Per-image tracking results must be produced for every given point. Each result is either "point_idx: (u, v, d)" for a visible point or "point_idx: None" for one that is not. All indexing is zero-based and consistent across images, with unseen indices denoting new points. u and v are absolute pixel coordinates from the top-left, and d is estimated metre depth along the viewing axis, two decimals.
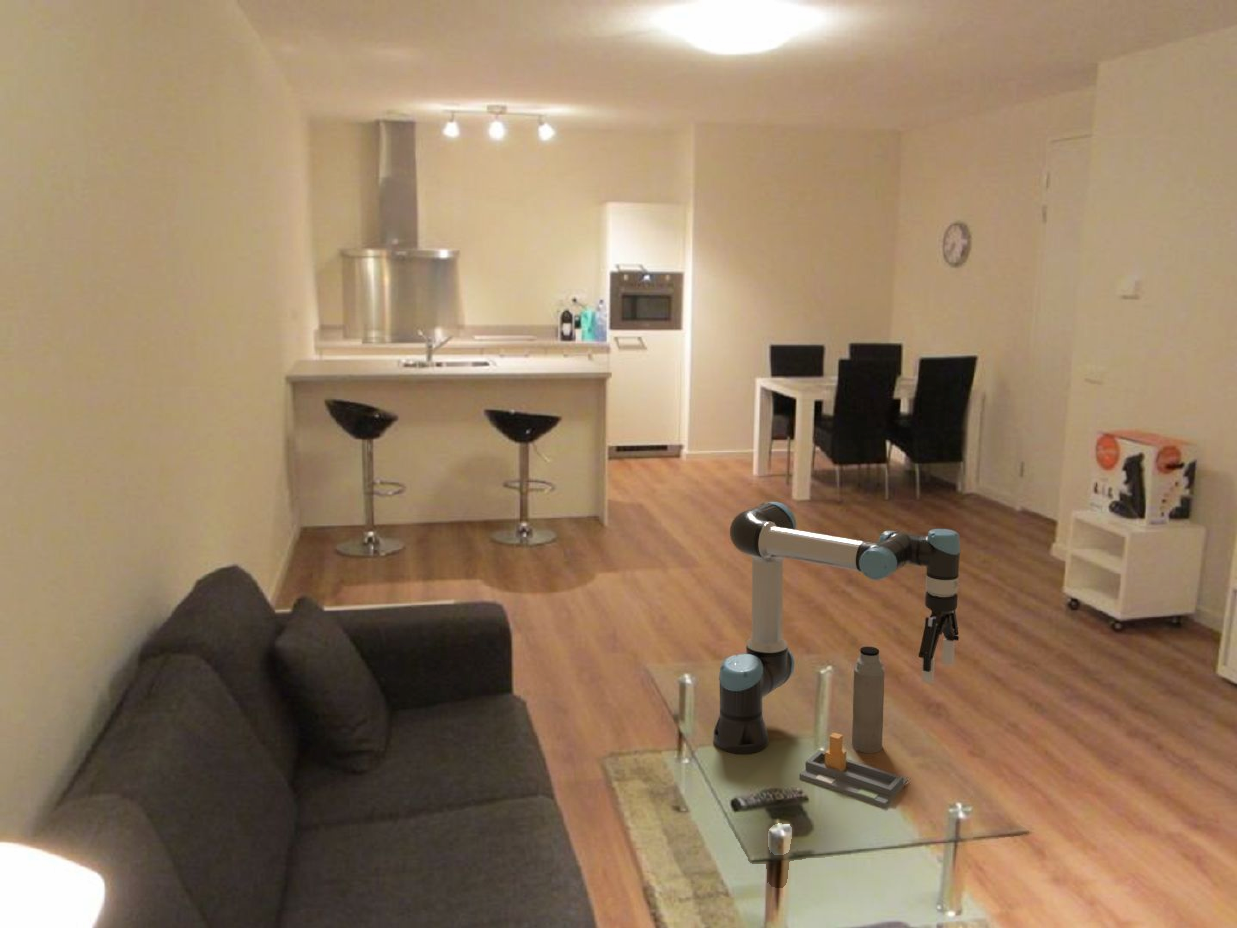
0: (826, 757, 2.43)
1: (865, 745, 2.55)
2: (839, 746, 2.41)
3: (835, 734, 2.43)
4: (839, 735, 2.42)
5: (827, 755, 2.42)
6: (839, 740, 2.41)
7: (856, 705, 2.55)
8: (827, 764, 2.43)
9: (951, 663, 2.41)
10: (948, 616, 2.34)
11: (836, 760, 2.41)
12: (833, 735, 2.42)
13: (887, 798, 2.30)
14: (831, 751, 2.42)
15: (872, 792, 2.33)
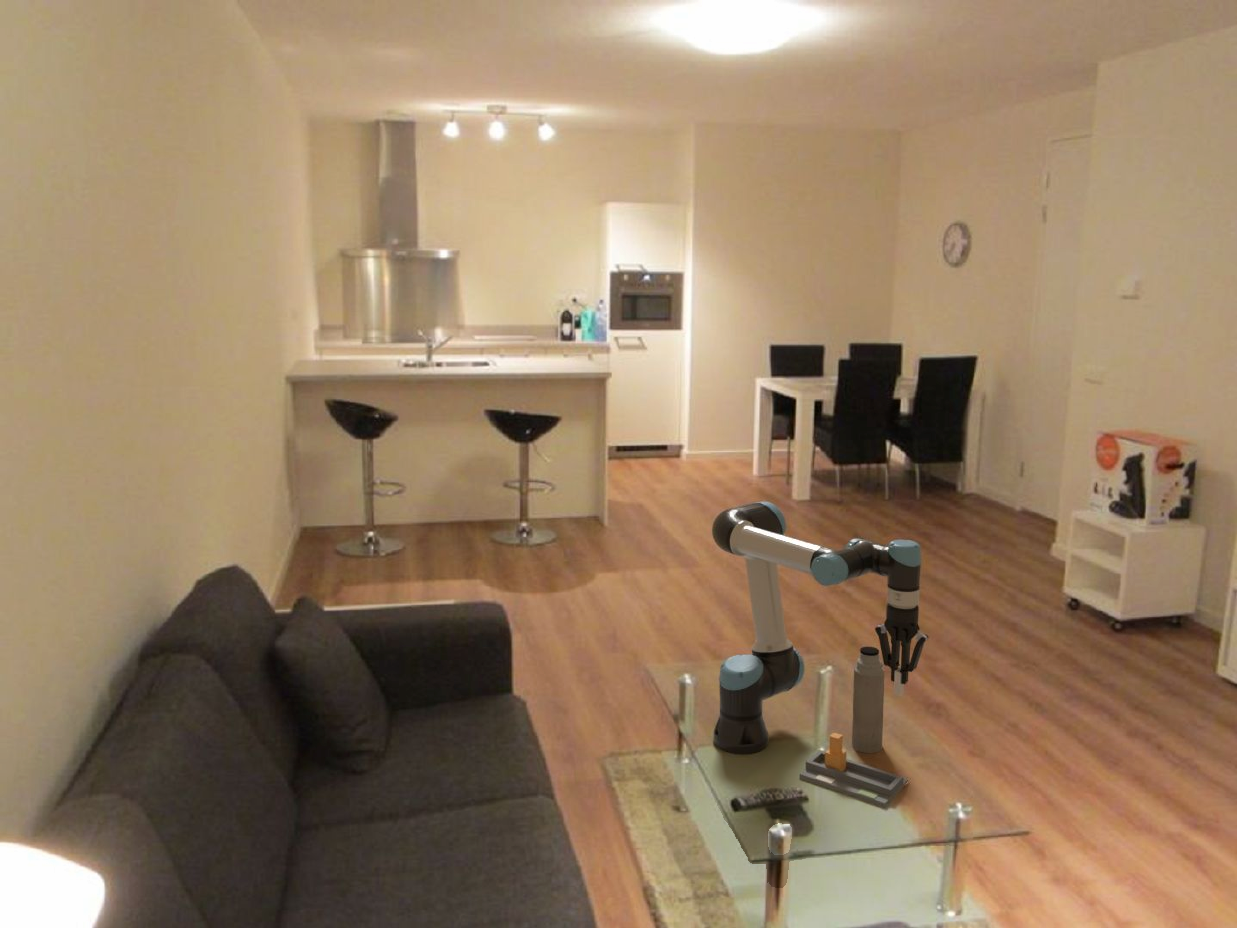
0: (826, 757, 2.43)
1: (865, 745, 2.55)
2: (839, 746, 2.41)
3: (835, 734, 2.43)
4: (839, 735, 2.42)
5: (827, 755, 2.42)
6: (839, 740, 2.41)
7: (856, 705, 2.55)
8: (827, 764, 2.43)
9: None
10: (903, 629, 2.29)
11: (836, 760, 2.41)
12: (833, 735, 2.42)
13: (887, 798, 2.30)
14: (831, 751, 2.42)
15: (872, 792, 2.33)
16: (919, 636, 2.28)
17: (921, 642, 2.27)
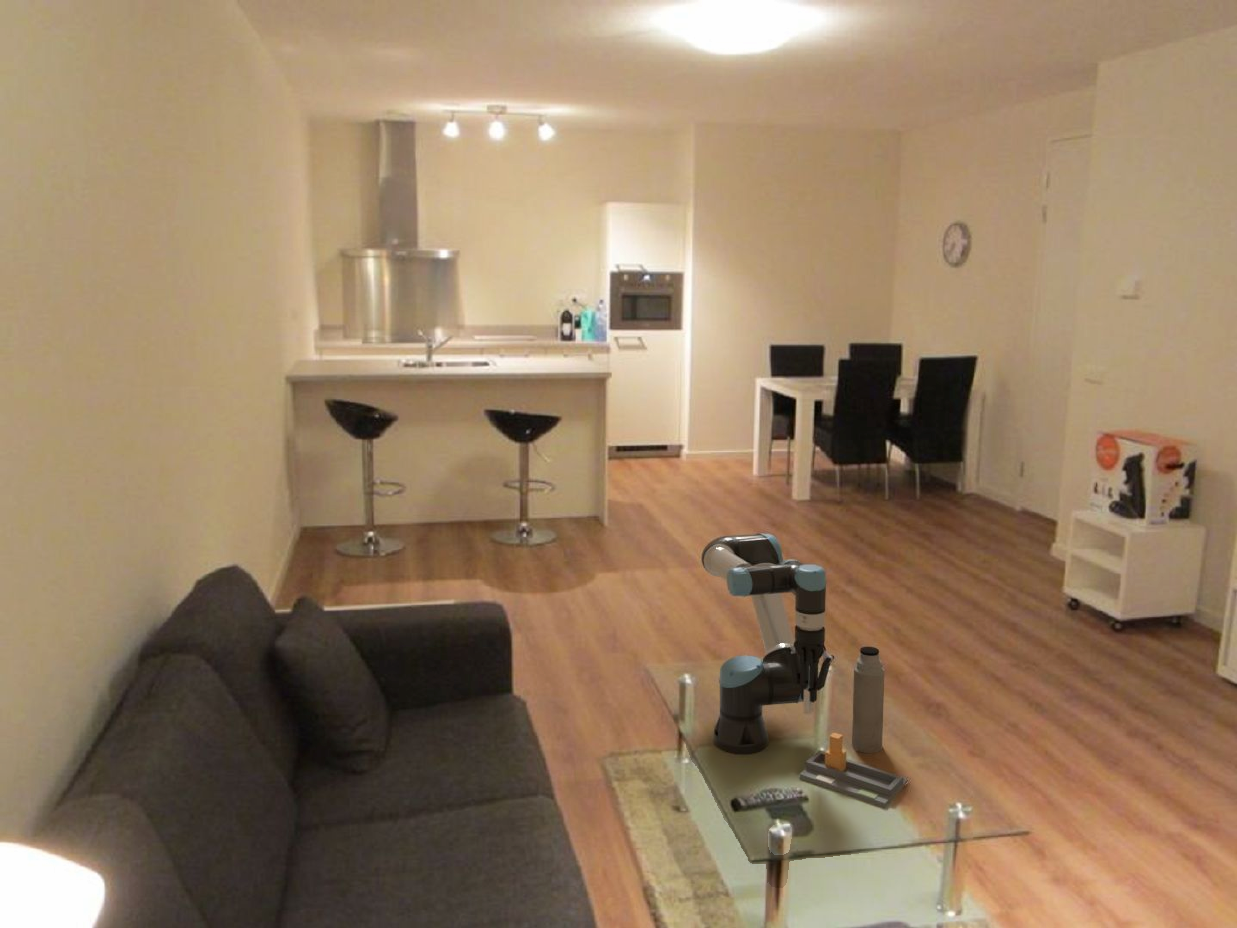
0: (826, 757, 2.43)
1: (865, 745, 2.55)
2: (839, 746, 2.41)
3: (835, 734, 2.43)
4: (839, 735, 2.42)
5: (827, 755, 2.42)
6: (839, 740, 2.41)
7: (856, 705, 2.55)
8: (827, 764, 2.43)
9: None
10: (810, 650, 2.41)
11: (836, 760, 2.41)
12: (833, 735, 2.42)
13: (887, 798, 2.30)
14: (831, 751, 2.42)
15: (872, 792, 2.33)
16: (825, 656, 2.40)
17: (827, 662, 2.39)
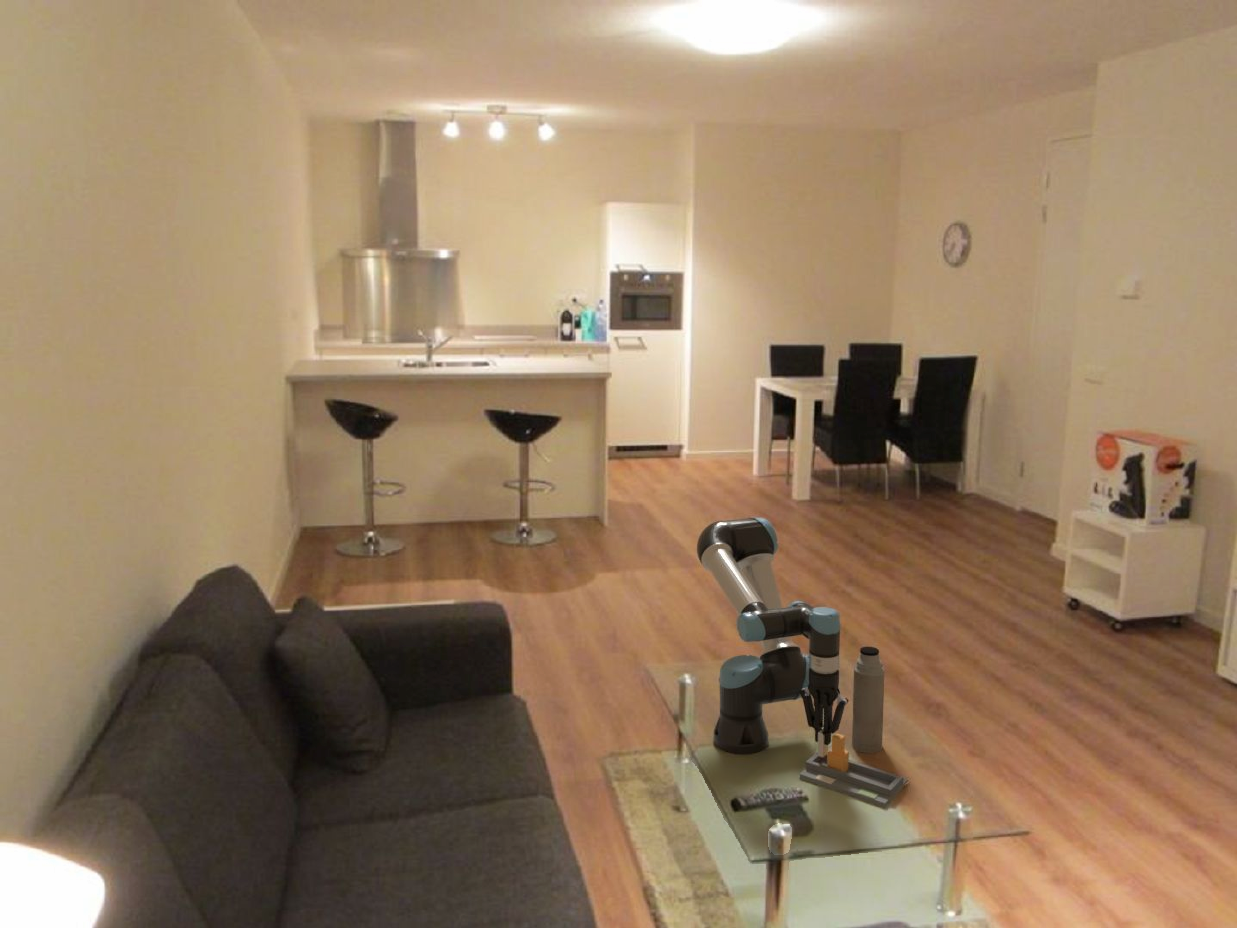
0: (828, 758, 2.42)
1: (865, 745, 2.55)
2: (841, 747, 2.41)
3: (837, 735, 2.42)
4: (841, 736, 2.42)
5: (829, 756, 2.42)
6: (841, 741, 2.41)
7: (856, 705, 2.55)
8: (829, 765, 2.42)
9: None
10: (824, 693, 2.40)
11: (839, 760, 2.40)
12: (835, 736, 2.42)
13: (887, 798, 2.30)
14: (834, 752, 2.42)
15: (872, 792, 2.33)
16: (839, 700, 2.39)
17: (841, 705, 2.38)
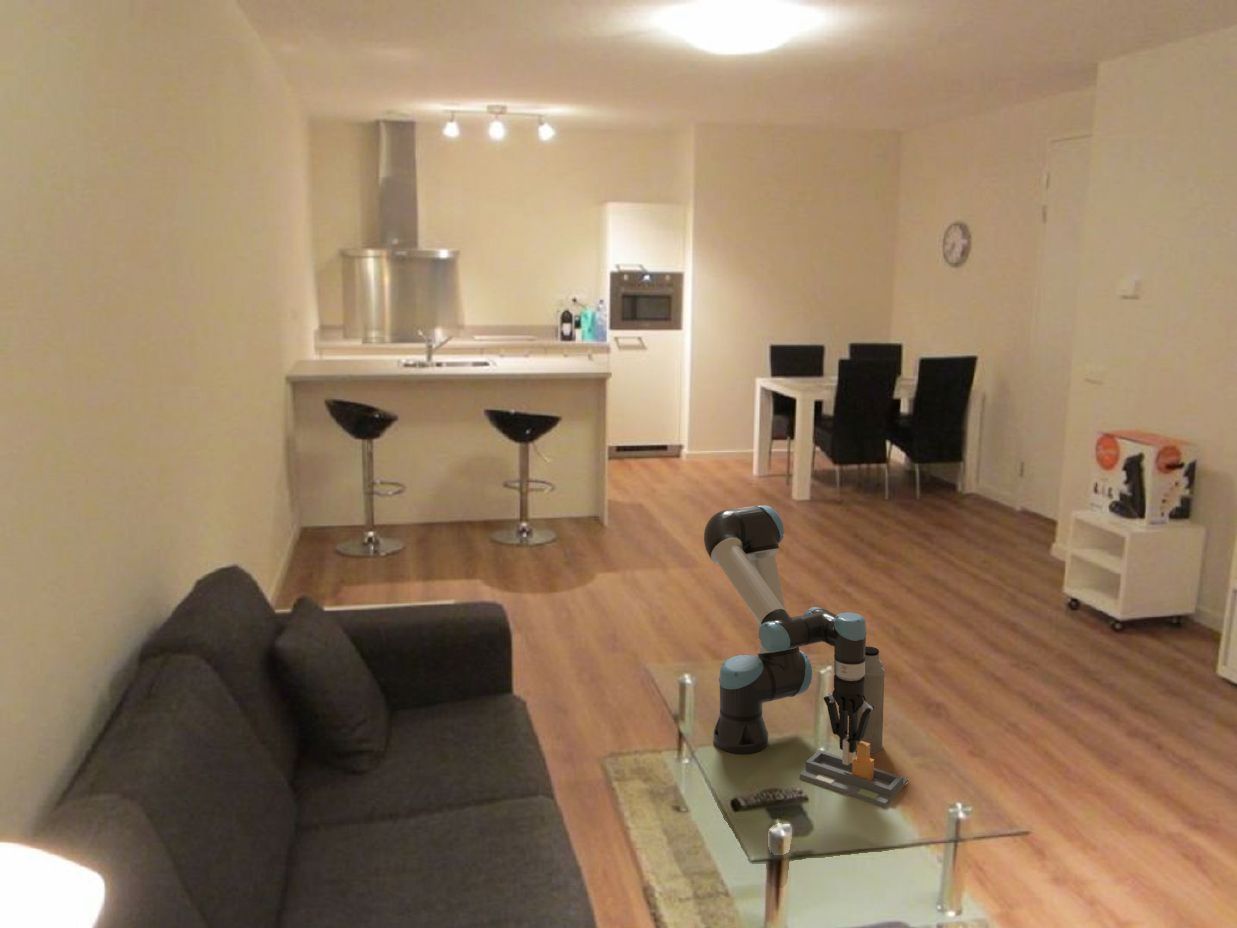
0: (853, 766, 2.38)
1: None
2: (867, 755, 2.37)
3: (863, 742, 2.38)
4: (867, 744, 2.37)
5: (854, 764, 2.38)
6: (867, 749, 2.36)
7: None
8: (854, 773, 2.38)
9: None
10: (849, 700, 2.36)
11: (864, 769, 2.36)
12: (861, 744, 2.37)
13: (887, 798, 2.30)
14: (859, 760, 2.38)
15: (872, 792, 2.33)
16: (865, 707, 2.35)
17: (867, 713, 2.34)
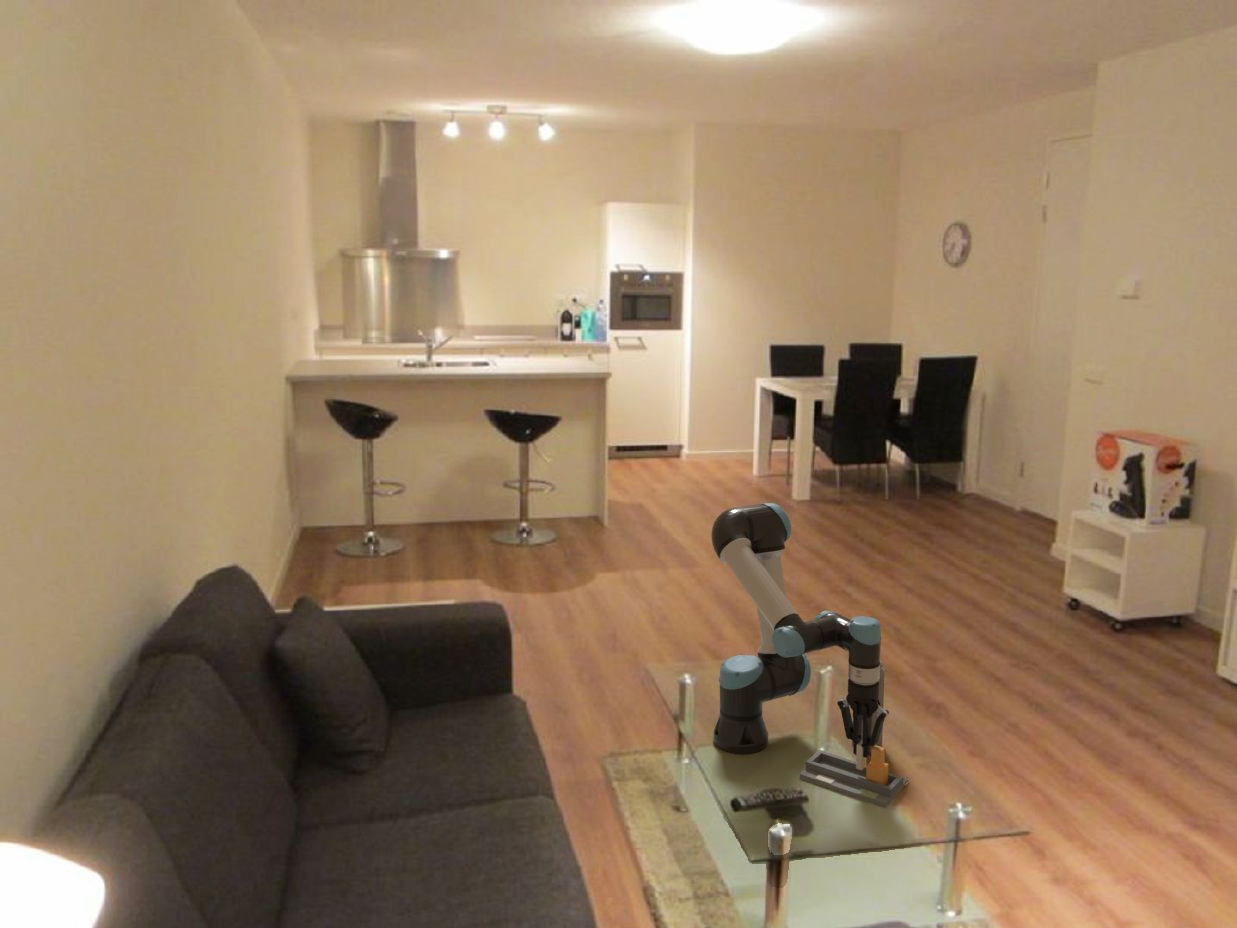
0: (867, 771, 2.36)
1: None
2: (881, 759, 2.34)
3: (877, 747, 2.36)
4: (881, 748, 2.35)
5: (868, 769, 2.35)
6: (881, 753, 2.34)
7: None
8: (869, 778, 2.36)
9: None
10: (864, 705, 2.34)
11: (879, 773, 2.34)
12: (875, 748, 2.35)
13: (887, 798, 2.30)
14: (873, 765, 2.35)
15: (872, 792, 2.33)
16: (880, 711, 2.33)
17: (881, 718, 2.32)
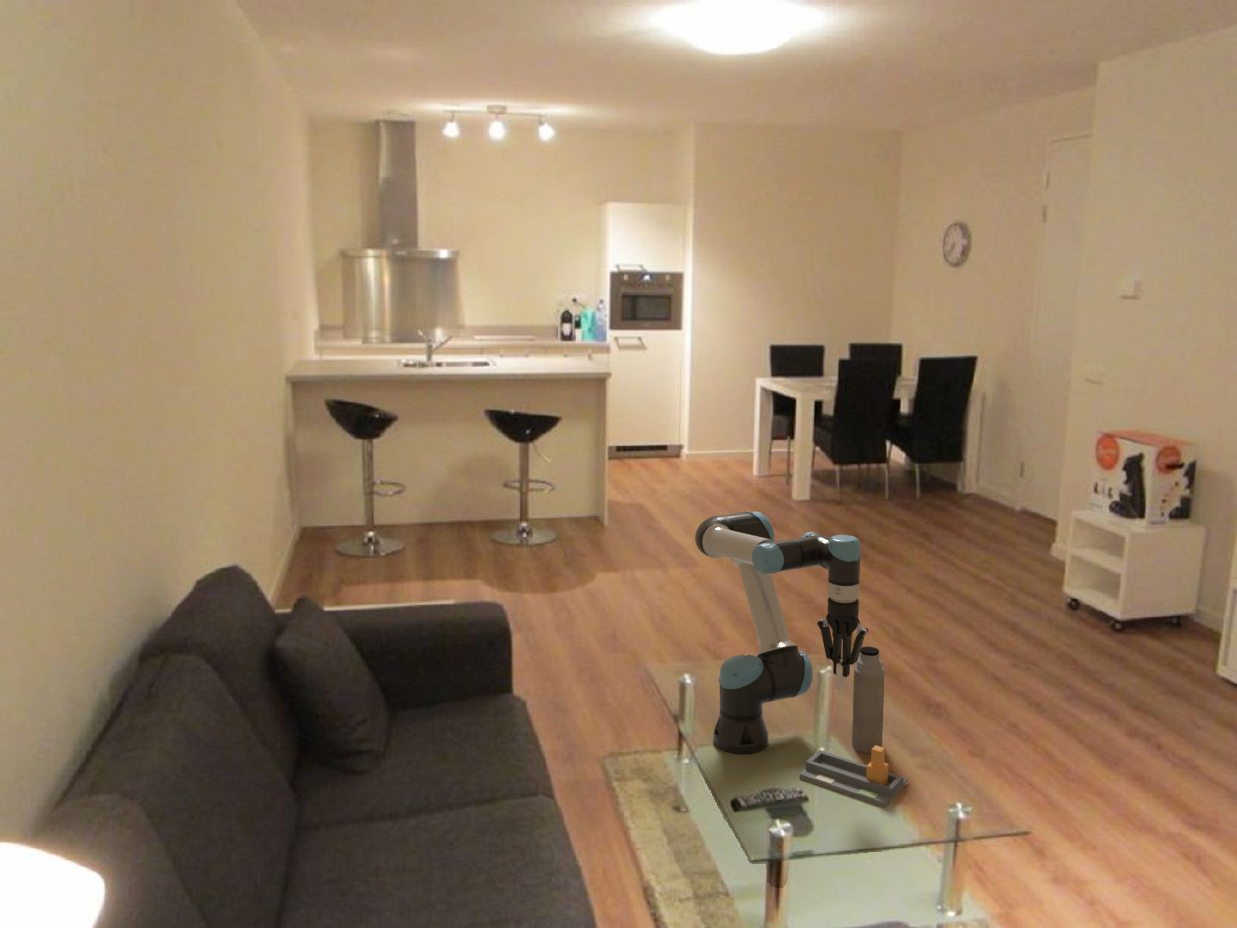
0: (868, 771, 2.36)
1: (865, 745, 2.55)
2: (881, 759, 2.34)
3: (877, 747, 2.36)
4: (881, 748, 2.35)
5: (868, 769, 2.35)
6: (881, 753, 2.34)
7: (856, 705, 2.55)
8: (869, 778, 2.36)
9: None
10: (843, 623, 2.33)
11: (879, 773, 2.34)
12: (875, 748, 2.35)
13: (887, 798, 2.30)
14: (873, 765, 2.35)
15: (872, 792, 2.33)
16: (859, 629, 2.32)
17: (861, 635, 2.31)
